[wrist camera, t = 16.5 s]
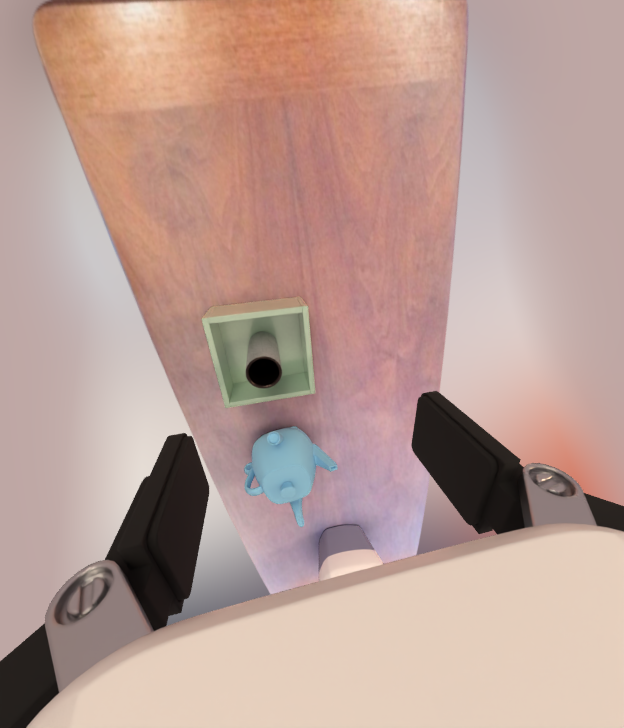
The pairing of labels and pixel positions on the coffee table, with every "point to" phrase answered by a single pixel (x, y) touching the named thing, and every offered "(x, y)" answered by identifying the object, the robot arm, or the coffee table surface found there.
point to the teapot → (285, 467)
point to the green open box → (231, 338)
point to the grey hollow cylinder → (263, 361)
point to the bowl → (345, 552)
